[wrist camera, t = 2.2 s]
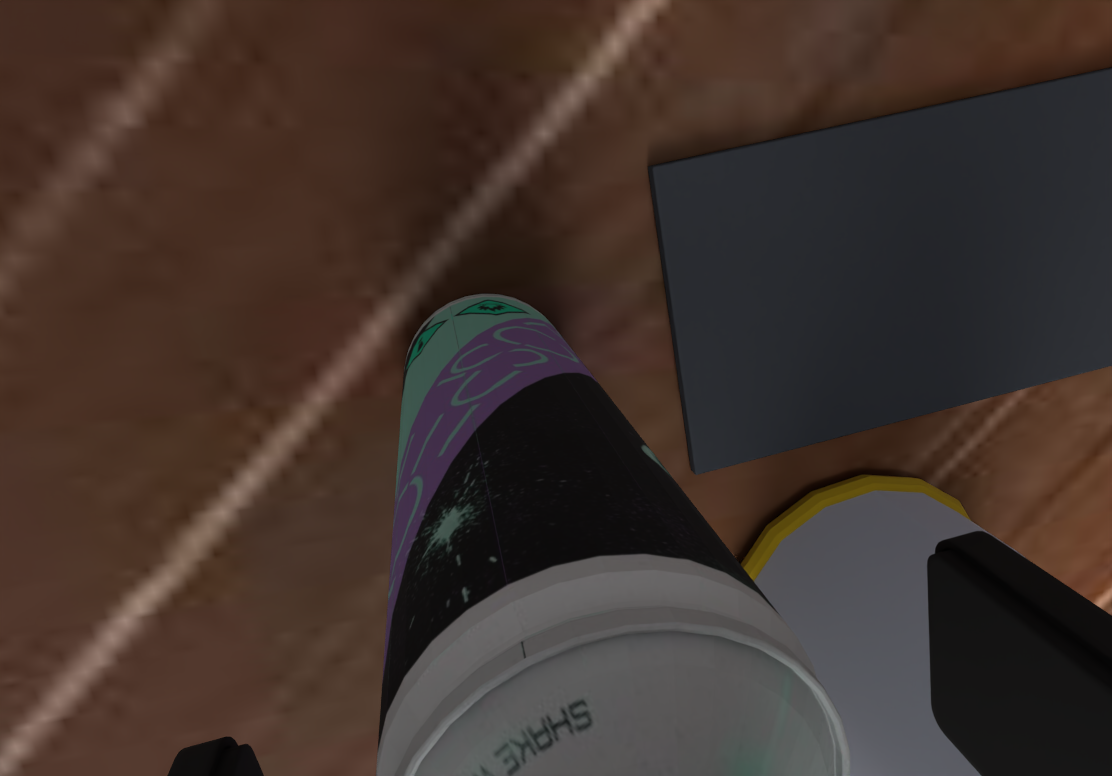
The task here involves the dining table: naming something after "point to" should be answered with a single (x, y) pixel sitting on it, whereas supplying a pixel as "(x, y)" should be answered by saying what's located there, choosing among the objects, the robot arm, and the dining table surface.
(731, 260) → the mat
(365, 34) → the dining table surface
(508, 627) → the spray can
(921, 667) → the soap bottle
